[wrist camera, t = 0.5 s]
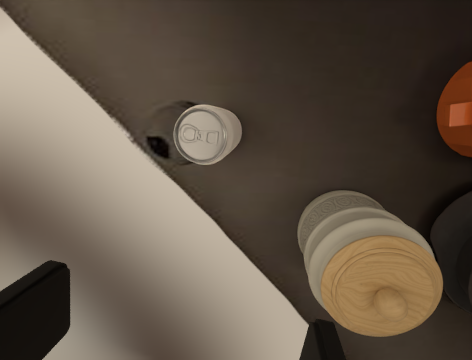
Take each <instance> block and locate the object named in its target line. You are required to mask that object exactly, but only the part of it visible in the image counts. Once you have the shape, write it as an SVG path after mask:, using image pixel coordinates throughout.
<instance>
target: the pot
mask: <svg viewBox="0 0 472 360" xmlns="http://www.w3.org/2000/svg"><path fill="white" fill-rule="evenodd" d="M437 125H438V129H439V132H440V134H441V136H442V138H443V140H444V141H445V143H446V144H447V145H448V146H449V147H450V148H451V149H453V150H454V151H455V152H457V153H459V154H460V155H462V156H466V157H469V158H472V60H471V61H470V62H468V63H467V64H466V65H464V66H463V67H462V68H461V69H459V70H458V71H457V72H456V73H455V74H454V76H453V77H452V78H451V79H450V80H449V82H448V83H447V85H446V86H445V88H444V90H443V92H442V94H441V96H440V99H439V103H438V107H437Z"/></svg>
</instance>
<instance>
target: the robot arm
mask: <svg viewBox="0 0 472 360" xmlns="http://www.w3.org/2000/svg"><path fill="white" fill-rule="evenodd" d="M69 327H70V270H69V269H68V268H67V265H66V264H65V263H61V262H56V261H52V260H50V261H47V262H45V263H44V264H42V265H41V266H39V267H37V268H36V269H34V270H33V271H31V272H30V273H28V274H27V275H25V276H23V277H22V278H20V279H19V280H17V281H16V282H14V283H13V284H11V285H9V286H8V287H6V288H5V289H3V290H2V291H0V360H42V359H43V358H44V357H45V356H46V355H47V354H48V353H49V352H50V351H51V349H52V348H53V347H54V346H55V345H56V344H57V343H58V342H59V341H60V340H61V339H62V338H63V337H64V336H65V334H66V333H67V331H68V330H69ZM299 360H346V358H345V355H344V352H343V349H342V346H341V343H340V340H339V337H338V334H337V331H336V328H335V325H334V323H333V322H330V321H325V320H321V319H316V320H315V323H314V322H310V324H309V327H308V331H307V335H306V338H305V342H304V345H303V349H302V352H301V356H300V359H299Z"/></svg>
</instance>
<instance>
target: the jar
mask: <svg viewBox="0 0 472 360" xmlns="http://www.w3.org/2000/svg"><path fill="white" fill-rule="evenodd" d="M297 236H298V242H299V246H300V249H301V251H302V253H303V256H304V264H305V268H306V272H307V274H308V278H309V284H310V288H311V290H312V293H313V295H314V296H315V298H316V300H317V301H318V302H319V303H320V305H321V306H322V307H323V308H324V309H325V310H327V311H328V312H329V314H330V315H331V316H332V317H333V318H334V319H335V320H336V321H337V322H338V323H339V324H341V325H342V326H343V327H345V328H347V329H349V330H351V331H353V332H356V333H359V334H362V335H367V336H376V337H383V336H392V335H397V334H401V333H404V332H407V331H409V330H411V329H413V328H415V327H417V326H418V325H420V324H421V323H423V322H424V321H425V320H426V319H427V318H428V317H429V316H430V315H431V314H432V313H433V312H434V310H435V309H436V307H437V305H438V303H439V301H440V299H441V295H442V290H443V279H442V274H441V271H440V268H439V266H438V264H437V262H436V261H435V257H434V254H433V251H432V249H431V247H430V246H429V244H428V243H427V241H426V240H425V239H424V238H423V237H422V236H421V235H420V234H419V233H418V232H417V231H416V230H414V229H413V228H411V227H409V226H408V225H406V224H405V223H404V222H402V221H401V220H400V219H399V218H398V217H396V216H394V215H393V214H391V213H389V212H387V211H386V210H385V209H384V208H383V207H382V206H381V205H380V204H379V203H378V202H376V201H375V200H373V199H372V198H370V197H369V196H367V195H364V194H362V193H358V192H354V191H348V190H337V191H331V192H328V193H325V194H323V195H321V196H319V197H317V198H316V199H314V200H313V201H312V202H311V203H310V204H309V205H308V206H307V207H306V208H305V210H304V211H303V213H302V215H301V217H300V220H299V224H298V231H297Z"/></svg>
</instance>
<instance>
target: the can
mask: <svg viewBox="0 0 472 360" xmlns="http://www.w3.org/2000/svg"><path fill="white" fill-rule="evenodd" d="M241 136H242V127H241V123H240V121H239V119H238V118H237V117H236V115H235V114H233V113H232V112H231V111H229V110H226V109H223V108H219V107H216V106H211V105H196V106H193V107H191V108H189V109H187V110H186V111H185V112H184V113H183V114H182V115H181V116H180V117H179V119H178V120H177V122H176V124H175V127H174V142H175V145H176V147H177V149H178V151H179V152H180V154H181V155H182V156H183V157H185V158H186V159H187V160H189V161H191V162H194V163H197V164H202V165H208V164H213V163H216V162H218V161H220V160H222V159H223V158H224V157H225V156H227V155H228V154H229V153H230V152H231V151H232V150H233V149H234V148H235V147H236V146H237V145H238V143H239V142H240V139H241Z"/></svg>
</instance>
